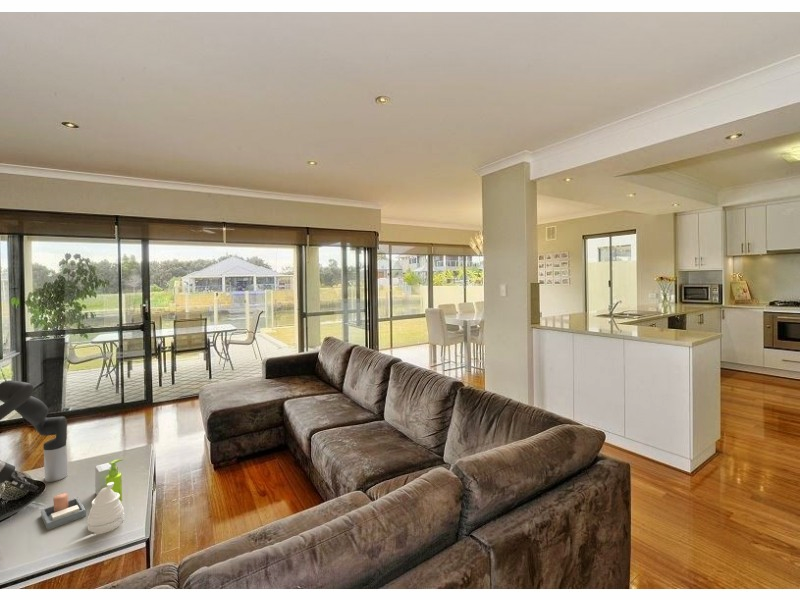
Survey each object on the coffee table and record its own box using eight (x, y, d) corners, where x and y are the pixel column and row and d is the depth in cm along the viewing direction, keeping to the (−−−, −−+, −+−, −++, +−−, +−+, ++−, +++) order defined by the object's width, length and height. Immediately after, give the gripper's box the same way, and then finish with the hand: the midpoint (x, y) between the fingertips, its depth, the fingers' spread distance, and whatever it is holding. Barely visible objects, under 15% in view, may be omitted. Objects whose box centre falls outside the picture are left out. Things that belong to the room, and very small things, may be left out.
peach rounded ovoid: (53, 513, 176) (52, 496, 175) (67, 508, 179) (66, 492, 179) (55, 518, 172) (54, 501, 172) (69, 513, 176) (68, 496, 175)
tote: (41, 518, 174) (40, 509, 174) (78, 505, 184) (77, 497, 184) (47, 532, 164) (47, 523, 164) (86, 517, 174) (85, 509, 174)
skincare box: (95, 494, 193) (94, 466, 192) (109, 489, 197) (108, 461, 196) (99, 501, 187) (98, 471, 186) (114, 495, 192) (113, 467, 191)
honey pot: (122, 512, 179) (120, 474, 178) (126, 525, 170) (125, 485, 168) (86, 523, 170) (85, 484, 169) (88, 538, 161) (87, 497, 160)
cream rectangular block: (51, 522, 169) (50, 513, 169) (77, 513, 176) (77, 504, 176) (53, 526, 167) (52, 517, 166) (79, 516, 174) (79, 508, 173)
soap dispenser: (127, 498, 190) (125, 459, 189) (112, 506, 183) (111, 465, 182) (118, 496, 192) (117, 457, 191) (104, 503, 185) (102, 463, 184)
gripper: (6, 467, 156) (45, 483, 166) (2, 457, 165) (39, 472, 175) (-12, 485, 152) (29, 500, 162) (-15, 473, 161) (24, 488, 171)
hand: (34, 486), depth 168 cm, fingers open, 8 cm apart
